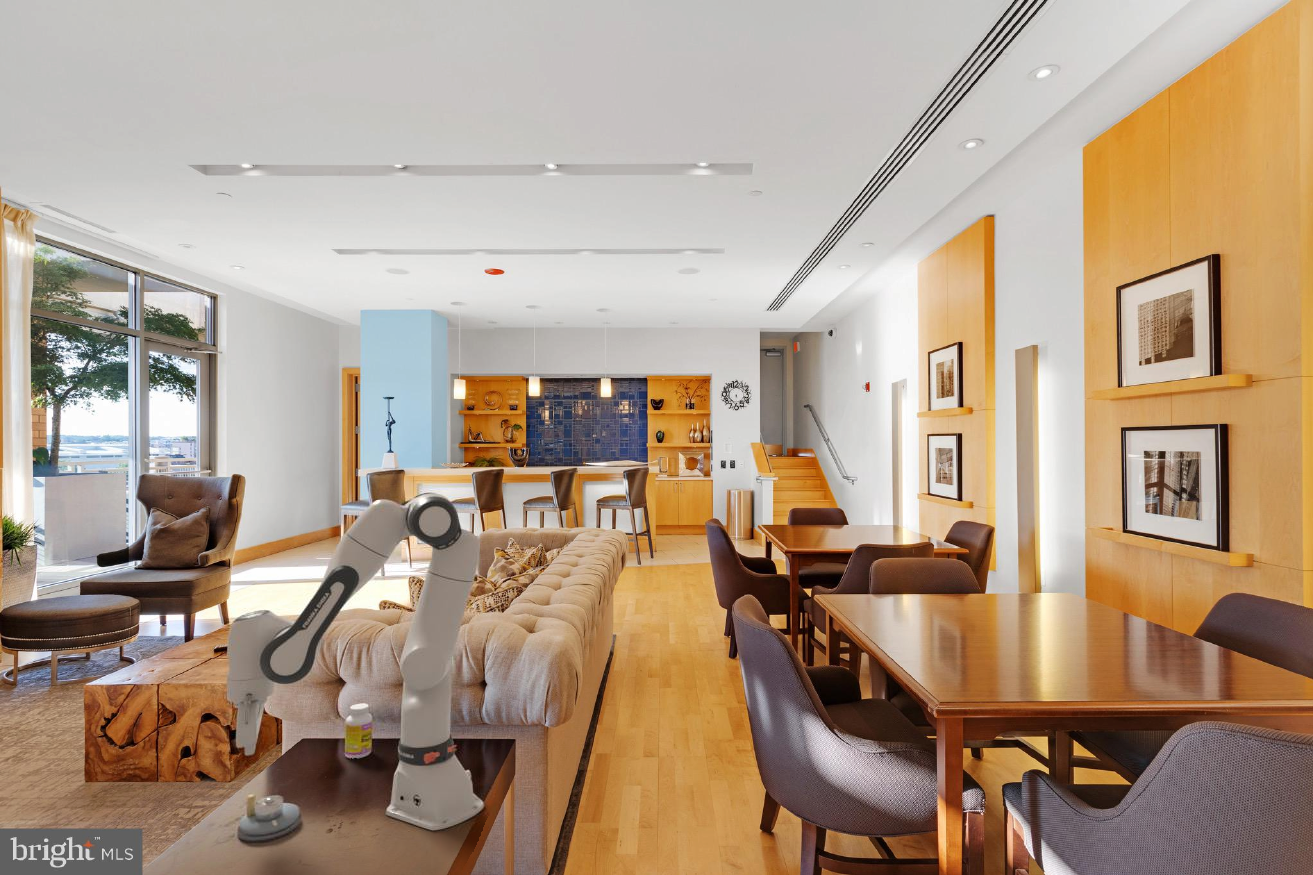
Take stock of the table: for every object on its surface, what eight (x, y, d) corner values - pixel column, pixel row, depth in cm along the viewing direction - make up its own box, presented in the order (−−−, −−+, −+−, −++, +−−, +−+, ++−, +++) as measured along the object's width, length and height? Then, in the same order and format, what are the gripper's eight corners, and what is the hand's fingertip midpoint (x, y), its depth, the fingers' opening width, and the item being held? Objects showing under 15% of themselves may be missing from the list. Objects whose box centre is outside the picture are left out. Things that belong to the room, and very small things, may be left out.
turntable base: (311, 825, 149) (311, 820, 149) (251, 849, 140) (251, 844, 140) (286, 807, 157) (286, 803, 157) (228, 829, 147) (228, 824, 147)
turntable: (295, 829, 145) (296, 804, 145) (234, 839, 141) (235, 813, 141) (302, 804, 155) (302, 781, 156) (245, 813, 152) (246, 789, 152)
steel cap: (280, 820, 147) (281, 801, 147) (252, 824, 145) (253, 806, 145) (284, 808, 151) (284, 791, 152) (257, 812, 150) (258, 794, 150)
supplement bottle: (361, 760, 182) (362, 711, 182) (339, 758, 183) (340, 709, 183) (376, 750, 188) (377, 702, 189) (355, 748, 189) (356, 701, 190)
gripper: (264, 700, 140) (263, 768, 140) (270, 672, 159) (269, 733, 158) (228, 705, 138) (227, 775, 137) (238, 676, 156) (237, 738, 155)
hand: (250, 752), depth 148 cm, fingers closed
